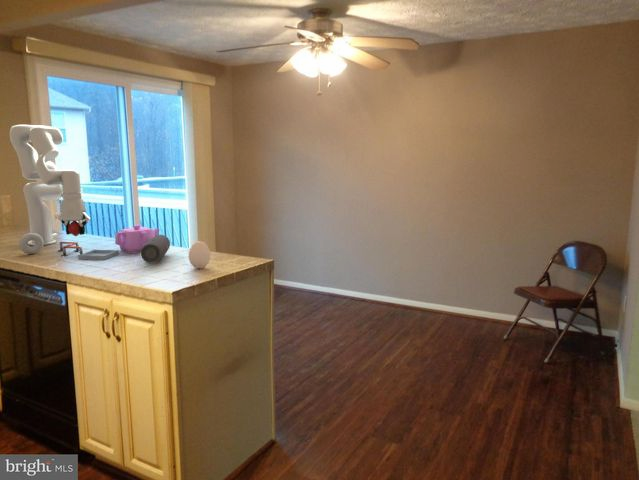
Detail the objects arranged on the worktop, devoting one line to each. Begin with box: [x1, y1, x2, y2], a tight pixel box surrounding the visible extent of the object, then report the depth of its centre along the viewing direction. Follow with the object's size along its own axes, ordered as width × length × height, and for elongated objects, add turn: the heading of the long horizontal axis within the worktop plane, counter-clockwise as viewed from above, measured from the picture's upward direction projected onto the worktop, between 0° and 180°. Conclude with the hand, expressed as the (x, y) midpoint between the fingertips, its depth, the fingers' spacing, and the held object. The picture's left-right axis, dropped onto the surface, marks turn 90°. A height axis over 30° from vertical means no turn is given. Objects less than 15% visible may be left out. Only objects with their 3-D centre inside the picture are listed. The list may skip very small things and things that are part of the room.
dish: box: [77, 249, 120, 261], centre depth 211 cm, size 12×12×2 cm
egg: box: [188, 240, 211, 269], centre depth 190 cm, size 9×9×12 cm
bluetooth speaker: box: [140, 234, 171, 264], centre depth 205 cm, size 23×9×10 cm, turn 8°
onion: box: [68, 221, 80, 237], centre depth 220 cm, size 6×6×8 cm
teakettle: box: [114, 224, 160, 254], centre depth 225 cm, size 17×17×12 cm
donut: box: [18, 232, 44, 255], centre depth 214 cm, size 10×3×10 cm, turn 139°
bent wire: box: [57, 241, 84, 258], centre depth 216 cm, size 13×19×4 cm
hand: (75, 233), depth 220 cm, fingers closed on onion, 5 cm apart
